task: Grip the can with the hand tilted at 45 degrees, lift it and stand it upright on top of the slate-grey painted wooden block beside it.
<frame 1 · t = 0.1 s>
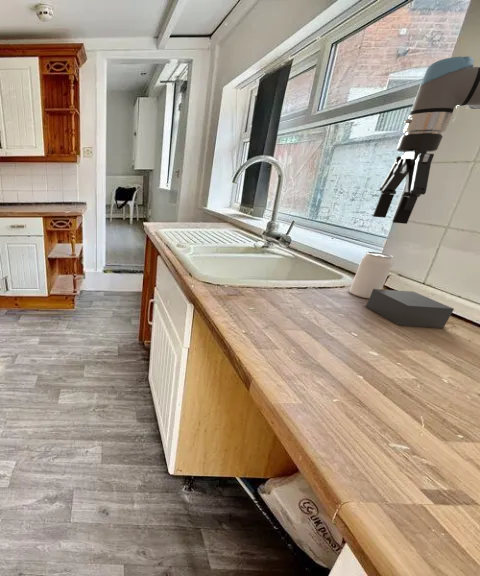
hand: (388, 220, 84), 21 cm above the countertop, tool pointing down, fingers open, 13 cm apart
grey block: (402, 316, 75), on the countertop
can: (362, 295, 87), on the countertop
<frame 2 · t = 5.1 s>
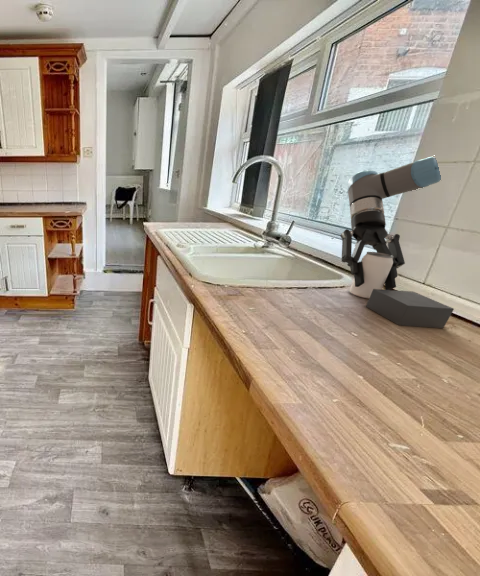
hand: (375, 286, 83), 4 cm above the countertop, tool tilted 45°, fingers closed on can, 6 cm apart
can: (362, 295, 87), on the countertop, touching gripper
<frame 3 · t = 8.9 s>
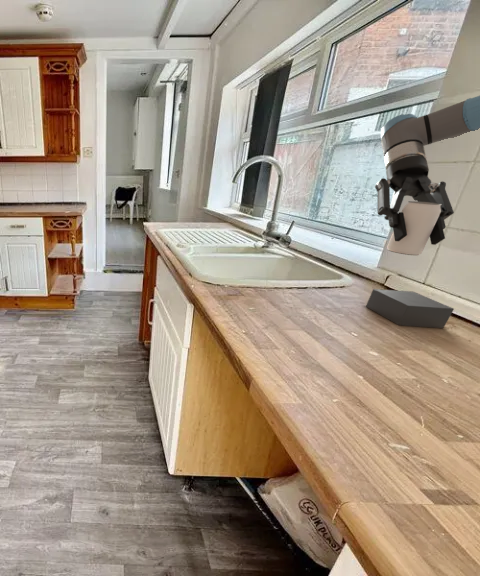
hand: (419, 239, 71), 18 cm above the countertop, tool tilted 45°, fingers closed on can, 6 cm apart
can: (402, 252, 76), point 14 cm above the countertop, touching gripper
when the fingers open (9 cm above the countertop, at t = 13.0 s): can stays where it is, resting on grey block.
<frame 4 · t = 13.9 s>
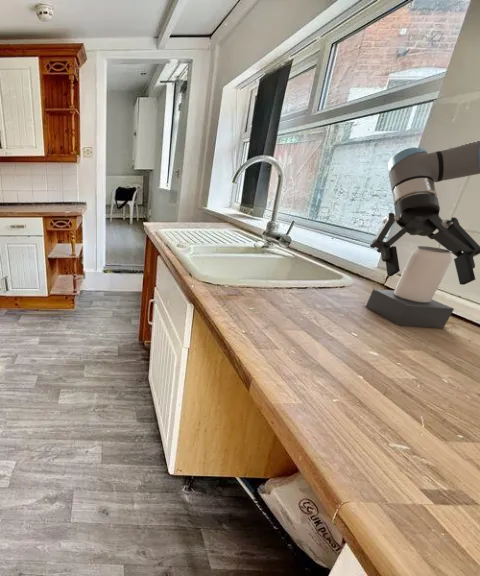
hand: (429, 277, 68), 11 cm above the countertop, tool tilted 45°, fingers open, 13 cm apart
can: (410, 298, 73), point 5 cm above the countertop, touching grey block
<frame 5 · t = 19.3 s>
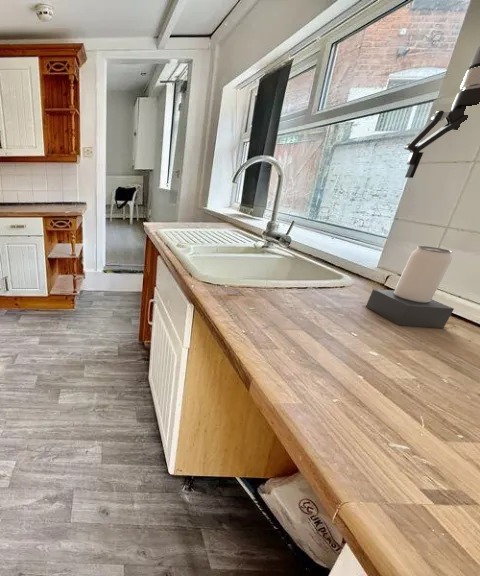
hand: (440, 179, 84), 32 cm above the countertop, tool pointing down, fingers open, 13 cm apart
nothing on the countertop moved.
at the end: can inside the target area on the grey block (0.1 cm from its centre), point 4.8 cm above the grey block's base; can tilted 0°; the gripper is holding nothing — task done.
